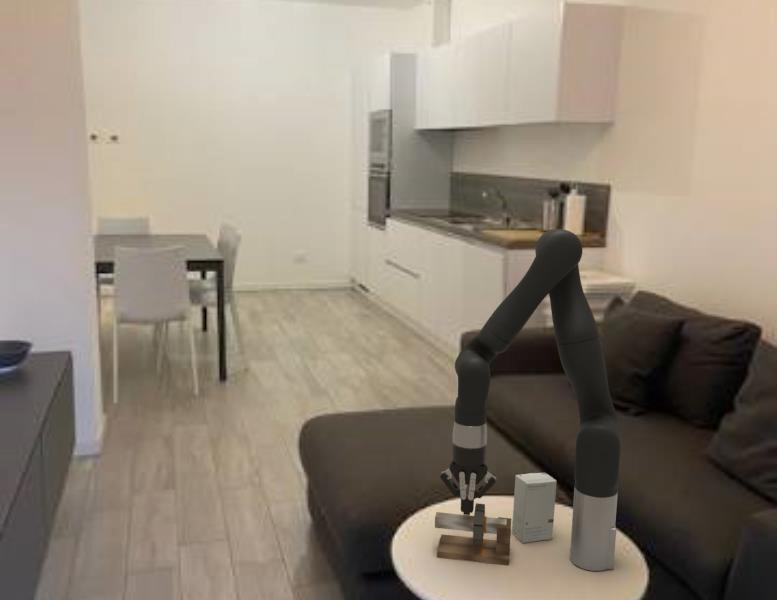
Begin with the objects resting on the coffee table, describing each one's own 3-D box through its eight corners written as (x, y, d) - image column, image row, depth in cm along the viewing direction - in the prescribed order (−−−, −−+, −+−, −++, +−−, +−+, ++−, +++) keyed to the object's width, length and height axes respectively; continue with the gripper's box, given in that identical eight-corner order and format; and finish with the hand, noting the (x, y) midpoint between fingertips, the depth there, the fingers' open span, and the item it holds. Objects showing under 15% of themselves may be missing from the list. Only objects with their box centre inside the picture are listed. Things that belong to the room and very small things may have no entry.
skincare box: (522, 544, 180) (525, 484, 177) (510, 532, 186) (513, 474, 183) (554, 539, 183) (557, 480, 180) (541, 527, 188) (545, 470, 185)
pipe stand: (510, 547, 178) (511, 513, 177) (508, 565, 171) (510, 530, 169) (436, 539, 181) (437, 506, 180) (432, 556, 174) (433, 522, 172)
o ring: (484, 533, 179) (485, 498, 178) (481, 551, 171) (482, 515, 169) (475, 532, 180) (476, 497, 178) (472, 550, 171) (473, 514, 170)
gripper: (500, 437, 174) (497, 509, 177) (441, 432, 176) (439, 503, 179) (498, 449, 166) (495, 524, 170) (437, 444, 169) (435, 518, 172)
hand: (466, 513), depth 174 cm, fingers closed
